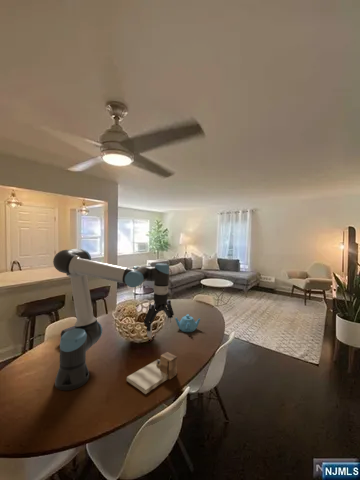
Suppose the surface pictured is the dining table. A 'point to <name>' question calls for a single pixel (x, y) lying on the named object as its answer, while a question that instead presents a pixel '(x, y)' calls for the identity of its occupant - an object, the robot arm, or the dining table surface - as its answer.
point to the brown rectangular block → (168, 364)
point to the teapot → (187, 323)
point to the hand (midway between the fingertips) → (158, 332)
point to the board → (147, 377)
